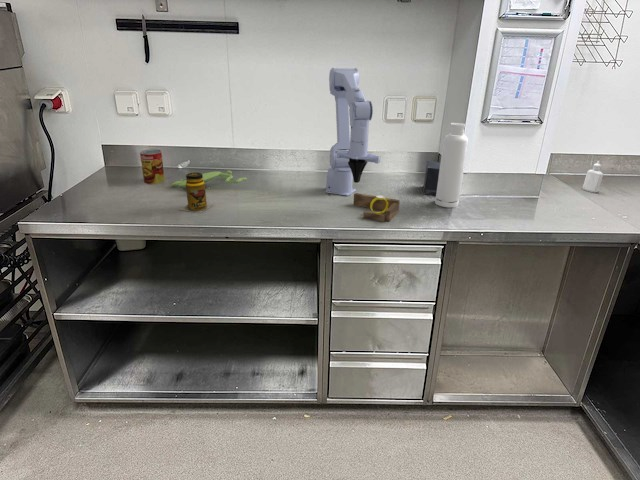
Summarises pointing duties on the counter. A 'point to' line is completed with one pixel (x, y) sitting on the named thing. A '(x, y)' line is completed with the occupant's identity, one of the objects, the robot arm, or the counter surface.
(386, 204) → the watch
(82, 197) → the counter surface
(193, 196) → the condiment
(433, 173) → the small box
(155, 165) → the canned food
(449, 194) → the bottle
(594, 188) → the eye dropper bottle
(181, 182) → the figurine
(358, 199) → the wooden u-shaped block
